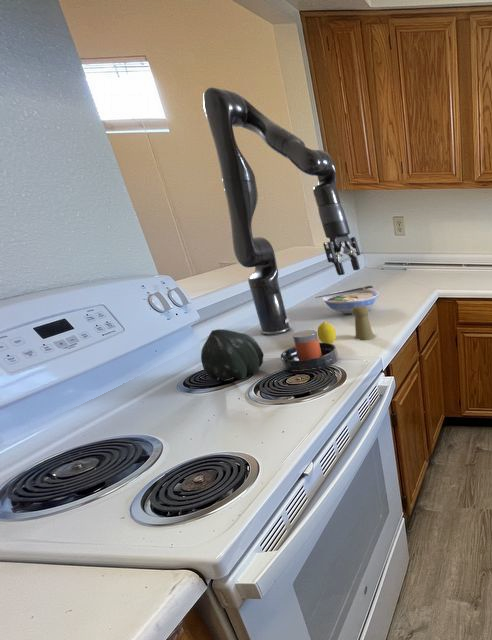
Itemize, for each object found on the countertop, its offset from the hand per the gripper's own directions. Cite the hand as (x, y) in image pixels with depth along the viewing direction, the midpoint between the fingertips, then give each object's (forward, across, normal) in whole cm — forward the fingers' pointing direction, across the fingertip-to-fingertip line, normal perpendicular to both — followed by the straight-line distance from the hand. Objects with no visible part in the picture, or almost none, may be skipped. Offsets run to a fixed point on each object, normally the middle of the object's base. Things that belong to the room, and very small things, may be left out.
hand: (349, 272), depth 137 cm
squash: (+20, +37, -19) cm, 46 cm away
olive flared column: (+23, 0, -2) cm, 23 cm away
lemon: (+22, +10, -9) cm, 25 cm away
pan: (+22, +25, -4) cm, 34 cm away
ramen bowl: (+19, -28, -24) cm, 42 cm away
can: (+22, +25, -4) cm, 33 cm away
